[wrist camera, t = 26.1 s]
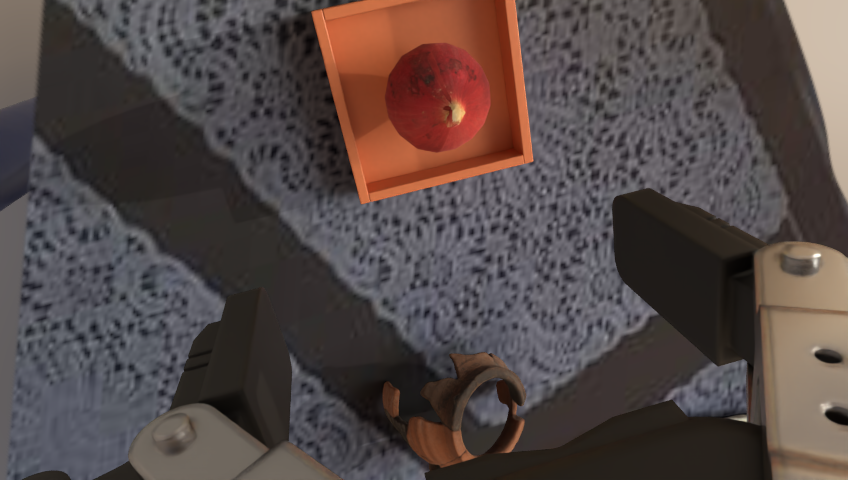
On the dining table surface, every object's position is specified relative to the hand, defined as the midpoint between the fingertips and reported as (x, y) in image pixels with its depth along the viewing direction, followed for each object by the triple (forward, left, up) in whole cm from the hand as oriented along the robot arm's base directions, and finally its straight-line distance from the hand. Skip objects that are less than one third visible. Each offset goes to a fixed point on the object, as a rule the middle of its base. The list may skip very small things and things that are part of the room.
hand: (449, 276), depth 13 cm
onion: (+4, 0, -24) cm, 24 cm away
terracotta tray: (+4, 0, -24) cm, 24 cm away
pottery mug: (+1, -24, -24) cm, 34 cm away
